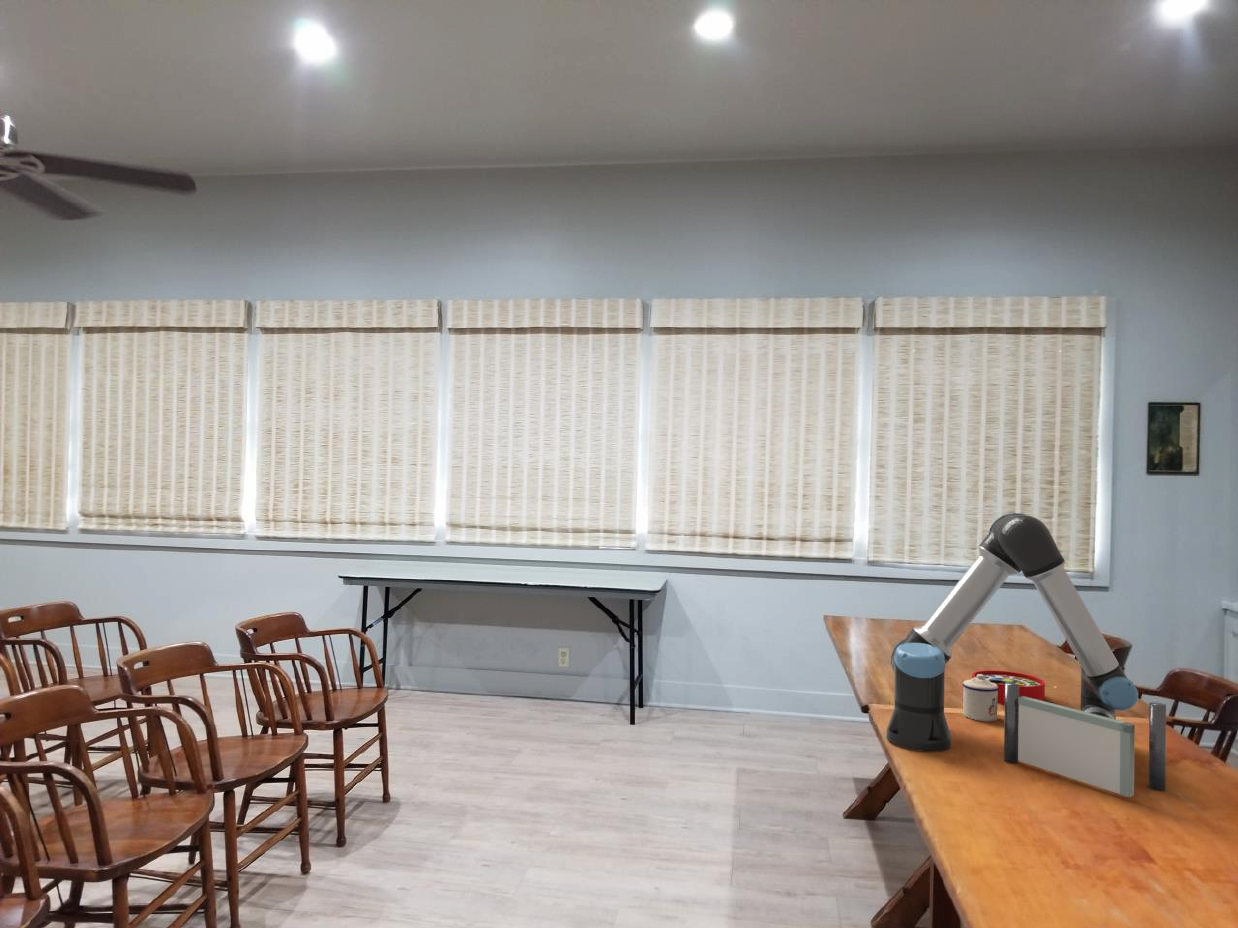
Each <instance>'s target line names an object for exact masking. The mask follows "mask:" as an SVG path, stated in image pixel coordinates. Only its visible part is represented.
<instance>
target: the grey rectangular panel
mask: <svg viewBox="0 0 1238 928" xmlns="http://www.w3.org/2000/svg"><path fill="white" fill-rule="evenodd" d="M1018 704H1019V730H1018V762H1021V763H1024V764H1028V765H1031V766H1033V767H1037V768H1040V769H1043V770H1045V771H1048V772H1052V773H1053V774H1054V773H1055V774H1058V775H1061V776H1064V777H1067V778H1069V779H1072V780H1076V781H1079V782H1082V783H1085V784H1088V785H1090V786H1093V787H1097V788H1101V789H1103V790H1105V791H1106V790H1107V791H1109V792H1112V793H1116V794H1119V795H1120V796H1122V797H1123V796H1124V797H1126V798H1131V797H1134V796H1135V745H1136V744H1135V742H1136V741H1135V738H1136V737H1135V736H1136V734H1135V733H1136V732H1135V729H1136V727H1135V726H1136V725H1135V723H1131V722H1127V721H1122V720H1118V719H1116V720H1115V719H1111V718H1107V717H1103V716H1099V715H1096V714H1092V713H1088V712H1084V711H1080V709H1076V708H1071V707H1067V706H1064V705H1060V704H1056V703H1051V702H1048V701H1045V702H1044V701H1041V700H1037V699H1033V698H1029V697H1025V696H1022V697H1018Z"/></svg>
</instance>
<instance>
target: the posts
mask: <svg viewBox="0 0 1238 928" xmlns="http://www.w3.org/2000/svg"><path fill="white" fill-rule="evenodd" d="M1018 697H1019V684H1016V683H1010V682H1007V683H1005V704H1004V721H1003V723H1004V724H1003V725H1004V729H1003V732H1004V733H1003V734H1004V735H1003V741H1004V742H1003V761H1004V762H1005V763H1008V764H1012V765H1013V764H1015V765H1017V764H1019V761H1018V730H1019V704H1018ZM1148 708H1149V709H1148V710H1149V715H1148V716H1149V718H1148V719H1149V720H1148V722H1149V723H1148V724H1149V725H1148V738H1149V739H1148V788H1149V789H1151V790H1154V791H1159V792H1165V791H1166V783H1167V782H1166V781H1167V780H1166V777H1167V776H1166V775H1167V774H1166V772H1167V771H1166V769H1167V704H1166V703H1162V702H1158V701H1157V702H1156V701H1155V702H1154V701H1152V702H1151V701H1150V702H1149V707H1148Z"/></svg>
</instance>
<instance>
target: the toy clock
mask: <svg viewBox="0 0 1238 928" xmlns="http://www.w3.org/2000/svg"><path fill="white" fill-rule="evenodd" d="M977 674H982V675H984V678H985V679H987V680H989V681H990V682H992V683H995V684H996V685H997V686H998V688H999V689H998V693H997V704H1000V705H1005V683H1007V682H1010V683H1016V684H1019V697H1022V696H1025V697H1029V698H1033V699H1037V700H1041V701H1044V702H1046V699H1045V698H1046V695H1045V694H1046V691H1045V690H1046V686H1045V685H1046V683H1045V680H1043V679H1041V678H1039V677H1038V676H1037V677H1036V676H1034V675H1030V674H1027V673H1026V674H1025V673H1020V672H1014V671H1009V670H1008V671H1007V670H994V669H993V670H991V669H990V670H989V669H987V670H977V671H974V672H972V674H971V679H972V678H976V677H977Z"/></svg>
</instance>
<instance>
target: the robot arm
mask: <svg viewBox="0 0 1238 928" xmlns="http://www.w3.org/2000/svg"><path fill="white" fill-rule="evenodd" d="M978 551H979V555H978V556H977V558H975V560H974V561H973V562H972V564H971V565H970V566H969V567H968V569H967V570H966V571H965V573H964V574H963V575H962V577H961V578H960V579H959V580H958V581H957V583H956V584H955V585H954V587H952V589H951V591H950V592H948V594H947V595H946V597H945V598H944V599H943V600H942V602H941V603H940V604H939V605H938V606H937V608H936V609H935V610H934V611H933V613H932V614H931V615H930V617H928V619H927V620H926V621H925V623H924V624H923V625H921V626H913V628H912V629H911V631H910V632H909V633H908V634H907V636H906V637H904V639H902V640H900V641H899V642H898V643H896V644H895V646H894V647H893V650H892V652H891V655H890V656H891V657H890V664H891V668H892V670H893V675H894V705H893V706H894V708H893V711H892V714H891V716H890V719H889V722H888V724H887V728H886V740H887V741H888V742H889V743H891V744H893V745H894V746H897V747H900V748H904V749H907V750H912V751H917V752H934V753H935V752H944V751H947V750H949V749H951V748H952V735H951V731H950V729H949V725H948V722H947V719H946V715H945V676H946V675H945V674H946V673H945V672H946V671H945V669H946V665H947V664H948V662H949V661H950V659H952V658H953V652H952V647H953V646H954V645H955V643H956V642H957V641H958V640H959V638H960V637H961V636H962V635H963V634H964V633H965V631H966V629H968V627H969V626H970V625H971V623H972V622H973V621H974V620H975V619H976V617H977V616H978V615H979V614H980V612H981V611H983V609H984V607H985V606H986V605H987V603H989V601H990V600H991V599H992V597H993V596H994V595H995V594H996V593H997V591H998V590H999V589H1000V587H1002V586H1003V584H1005V582H1006V580H1007V579H1008V578H1009V576H1013V575H1019V574H1020V573H1021V572H1022V574H1023V576H1024V578H1025V579H1027V580H1031V581H1032V583H1033V585H1034V588H1036V590H1037V592H1038V593H1039V595H1040V597H1041V599H1042V600H1043V602H1044V604H1045V605H1046V607H1047V609H1048V610H1049V612H1050V614H1051V616H1052V618H1053V619H1054V621H1055V622H1056V625H1057V627H1058V628H1059V631H1060V632H1061V633H1062V634H1063V637H1064V639H1065V641H1066V642H1067V644H1068V645H1069V647H1070V650H1071V651H1072V653H1073V655H1074V656H1075V657H1076V659H1077V661H1078V663H1079V664H1080V665H1079V668H1080V709H1079V710H1080V711H1084V712H1088V713H1092V714H1096V715H1099V716H1103V717H1107V718H1111V719H1115V720H1117V717H1116V716H1117V715H1116V712H1117V711H1127V710H1130V709H1132V708H1134V706H1135V705H1136V704H1137V702H1138V699H1139V690H1138V689H1137V687H1136V685H1135V684H1134V683H1133V682H1132V681H1131V679H1129V678H1128V677H1127V675H1126V673H1125V672H1124V670H1123V669H1122V667H1121V665H1120V663H1119V661H1118V659H1117V658H1116V656H1115V654H1114V653H1113V651H1112V649H1111V648H1110V646H1109V644H1108V642H1107V640H1106V638H1105V636H1104V635H1103V634H1102V632H1101V630H1100V628H1099V627H1098V625H1097V623H1096V621H1095V619H1094V618H1093V616H1092V614H1091V613H1090V610H1089V609H1088V607H1087V606H1086V605H1085V603H1084V600H1083V599H1082V597H1081V595H1080V594H1079V592H1078V591H1077V589H1076V586H1075V585H1074V584H1073V582H1072V579H1071V578H1070V576H1069V575H1068V572H1067V571H1066V570H1065V567H1064V566H1065V564H1066V560H1065V559H1064V557H1063V555H1062V554H1061V551H1060V549H1059V547H1058V546H1057V544H1056V541H1055V539H1054V538H1053V536H1052V533H1051V531H1050V530H1049V528H1048V527H1047V526H1046V524H1045V523H1044V522H1042V521H1041V520H1040V519H1039V518H1038V517H1034V516H1031V515H1026V514H1023V513H1020V512H1011V513H1006V514H1003V515H1002V516H1000V517H998V518H997V519H996V520H994V521H993V523H992V524H991V526H990V528H989V530H988V533H987V535H986V537H985V538H984V539H983V540H982V541H981V542H980V544H979V545H978Z"/></svg>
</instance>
